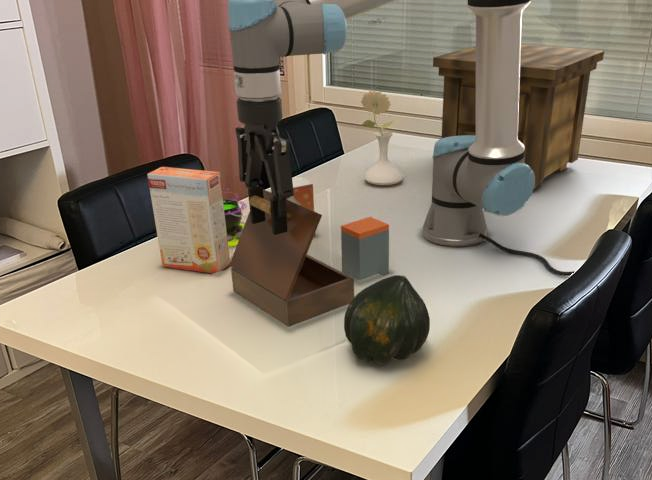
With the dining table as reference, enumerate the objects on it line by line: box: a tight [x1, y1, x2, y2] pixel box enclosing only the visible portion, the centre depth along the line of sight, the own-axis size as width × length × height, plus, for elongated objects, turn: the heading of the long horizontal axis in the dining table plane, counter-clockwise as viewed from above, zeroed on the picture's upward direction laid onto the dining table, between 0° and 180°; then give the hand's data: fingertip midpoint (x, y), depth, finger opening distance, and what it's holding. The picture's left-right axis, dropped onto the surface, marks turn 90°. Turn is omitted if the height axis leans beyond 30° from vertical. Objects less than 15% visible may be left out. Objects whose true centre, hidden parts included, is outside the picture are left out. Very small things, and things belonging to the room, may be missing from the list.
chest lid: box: [228, 188, 323, 300], centre depth 133 cm, size 16×20×6 cm
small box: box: [270, 176, 316, 237], centre depth 169 cm, size 8×6×13 cm
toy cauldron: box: [223, 189, 247, 248], centre depth 171 cm, size 15×15×11 cm
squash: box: [343, 274, 431, 365], centre depth 123 cm, size 14×15×15 cm
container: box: [340, 216, 390, 281], centre depth 151 cm, size 8×6×11 cm
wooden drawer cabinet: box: [432, 43, 605, 190], centre depth 207 cm, size 35×35×33 cm
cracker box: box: [146, 166, 231, 275], centre depth 153 cm, size 14×6×21 cm, turn 71°
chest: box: [230, 254, 355, 327], centre depth 142 cm, size 16×20×6 cm
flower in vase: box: [360, 90, 404, 186], centre depth 201 cm, size 13×11×25 cm
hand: (269, 227), depth 133 cm, fingers closed on chest lid, 6 cm apart
